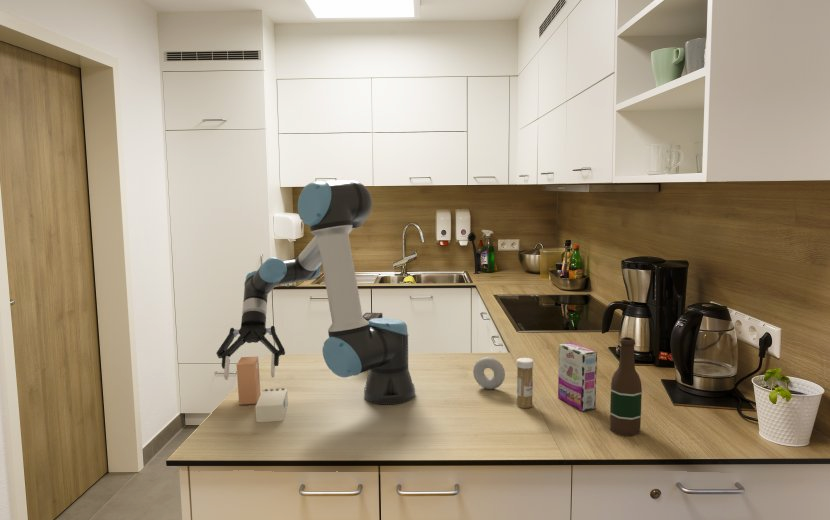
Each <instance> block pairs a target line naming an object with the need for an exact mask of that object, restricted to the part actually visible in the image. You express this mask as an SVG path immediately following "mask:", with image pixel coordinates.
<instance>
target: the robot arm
mask: <svg viewBox="0 0 830 520" xmlns="http://www.w3.org/2000/svg"><path fill="white" fill-rule="evenodd" d="M298 197H299V198H298V201H297V212H298V213H297V214H298V216H299V219H300V220H301V221H302V223H303V224H305V225H307V226H309V227H310V228H309V229H310V234H312V235H313V236H314V237H313V238H311V240H310V241H309V242H308V244H307V245H306V247H305V248H304V249H303V250H302V251H301V252H300V253H299V255H297V257H296V258H294V259H290V260H288V259H287V260H283V259H281V258H277V257H275V256H274V257H273V256H272V257H269V258H267V259H266V260H265V261H264V262H263V263H261V265H260V267H258V269H257V270H253V271H251V272H248V273H247V274H246V276H245V281H244V284H243V285H244V290H243V291H244V292H243V301H242V302H243V303H242V311H241V312H242V313H241V322H240V323H241V324H240V328H239V329H236V328H234V327H230V329H229V332H228V334H227V336H226V338H225V339H224V341H223V342H222V344H221V345H220V347H219V348H218V350H217V351H216V356H217V358H218V359H221V368H222V369H224V370H223V371H224V373H223V378H224V380H225V381H228V380H229V375H230V365H231V359H230V358H231V356H232V355H233V354H234V353H235V352H237V350H239V348H241V346H243V345H245V343H247V344H252V343H258V342H260V343H262V345H264V346H265V347H266V348H267V349H268V351H269V352H270V353H271V362H270V375H271V378H275V371H276V367H278V366H279V364H280V363H279V361H280V357H281V356H285V355H286V351H285V348H284V346H283V344H282V342H281V340H280V339H279V337H278V335H277V333H276V328H275V326H274V325H272V326H270V327H267V328H266V325H267V313H268V312H267V311H268V310H267V309H268V308H267V307H268V296H269V294H270V292H272V290H273V289H274V288H275V287H276V286H282V285H288V284H293V283H297V282H304V281H310V280H311V281H312V280H313V279H316V278H318V277H319V276H320V272H321V266H322V271H323V276H324V283H325V289H326V294H327V301H328V306H329V312H330V317H331V324H330V325H329V328H328V329H327V333H328V338H327V339H325V341H323V346H322V349H321V350H322V357H323V359H324V363H325V364H326V366H327V367H328V369H329V370H330V371H331V372H332V373H333V374H334V375H336V376H338V377H340V378H349V377H354V376H358V375H359V374H361V373H364V372H368V374H367V379H366V381H365V386H364V389H363V390H364V391H363V393H364V394H363V395H364V399H365V400H367V401H368V402H370V403H373V404H379V405H396V404H402V403H406V402H409V401H410V400H413V398H415V396H416V386H415V384H414V383H413V379H412V375H411V372H410V371H409V369H410V368H409V334H408V333H409V332H408V324H407V323H406V322H405V321H403V320H401V319H396V318H386V317H383V318H374V319H370V320H369V321H367V320H365V319H364V318H363V310H362V305H361V299H360V294H359V288H358V282H357V276H356V270H355V264H354V259H353V254H352V253H353V252H352V247H351V242H350V241H351V240H350V235H349V234H350V233H351V232H352V231H353V230H356V229H360V227H361V226H363V224H364V223H365V222H366V221H367V219H368V218H369V217H370V214H371V212H372V209H373V198H372V194H371V192H370V190H369V189H368V188H367V186H365V185H364V184H362V183H361V182H359V181H357V180H320V181H314V182H310V183H308V184H307V185H305V186H304V187H303V189H302V190H301V192H300V194H299V196H298ZM267 333H268V335H270V336H271V337H272V339H273V341H274V343H275V345H276V347H277V348H276V347H275V345H273V344H272V343H271V341H270V340H269V339H267V338H266V336H265V335H266V334H267ZM237 335H239V336H238V337H237ZM235 337H237V339H236V340H235V341H234V339H235ZM233 341H234V342H233Z"/></svg>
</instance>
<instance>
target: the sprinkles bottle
mask: <svg viewBox="0 0 830 520" xmlns="http://www.w3.org/2000/svg"><path fill="white" fill-rule="evenodd" d="M516 369H517V370H516V371H517V372H516V373H517V374H516V375H517V376H516V394H517V396H516V397H517V398H516V400H517V401H516V406H517V407H519V408H522V409H530V408H532V407H533V405H534V404H533V395H534V394H533V389H534V387H533V385H534V384H533V381H534V380H533V379H534V378H533V376H534V373H533V370H534V360H533V359H532V358H531V357H530V358H529V357H519V358H517V359H516Z"/></svg>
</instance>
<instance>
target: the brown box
mask: <svg viewBox="0 0 830 520" xmlns="http://www.w3.org/2000/svg"><path fill="white" fill-rule="evenodd" d="M236 376H237V377H236V379H237V391H238V392H237V393H238V404H239V406H240V405H256V404H257V402H258V400H259V397H260V395H261V393H262V391H261V379H260V364H259V356H243V357H242V356H241V357H240V359H239V360H238V362H237V363H236Z"/></svg>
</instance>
